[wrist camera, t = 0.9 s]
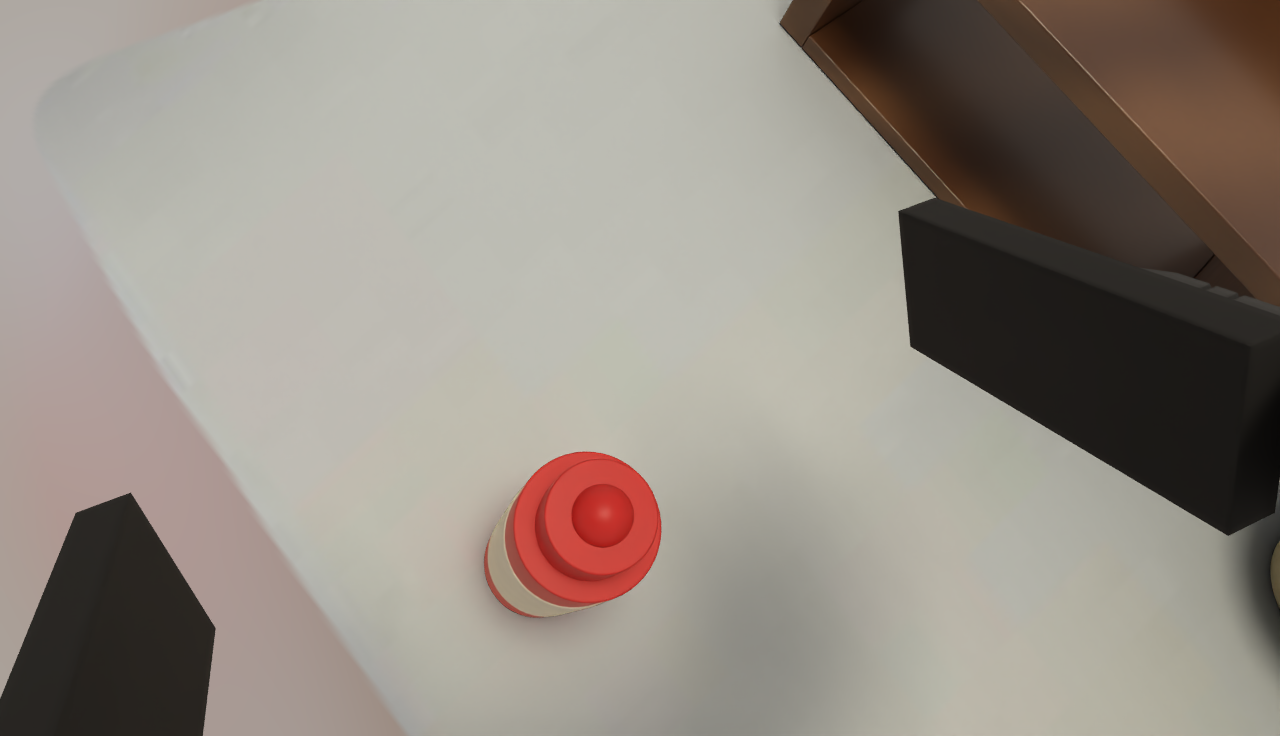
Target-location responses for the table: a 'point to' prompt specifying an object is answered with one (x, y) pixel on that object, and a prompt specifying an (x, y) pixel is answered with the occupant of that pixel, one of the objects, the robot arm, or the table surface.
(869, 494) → the table surface
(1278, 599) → the beige bowl
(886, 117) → the shelf
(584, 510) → the red cream bottle
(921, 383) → the table surface
